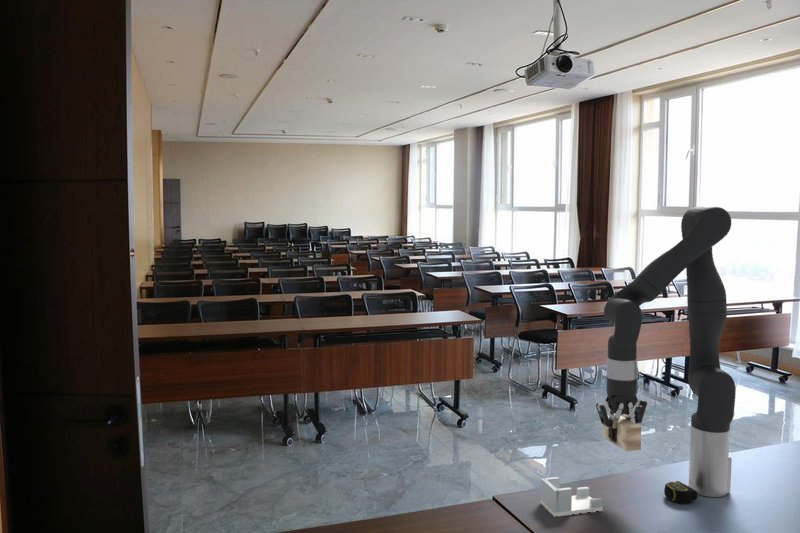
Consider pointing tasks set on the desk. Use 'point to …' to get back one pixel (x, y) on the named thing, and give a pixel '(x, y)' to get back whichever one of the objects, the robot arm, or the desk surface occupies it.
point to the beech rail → (626, 435)
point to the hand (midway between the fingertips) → (621, 439)
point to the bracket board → (567, 499)
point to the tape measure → (680, 492)
